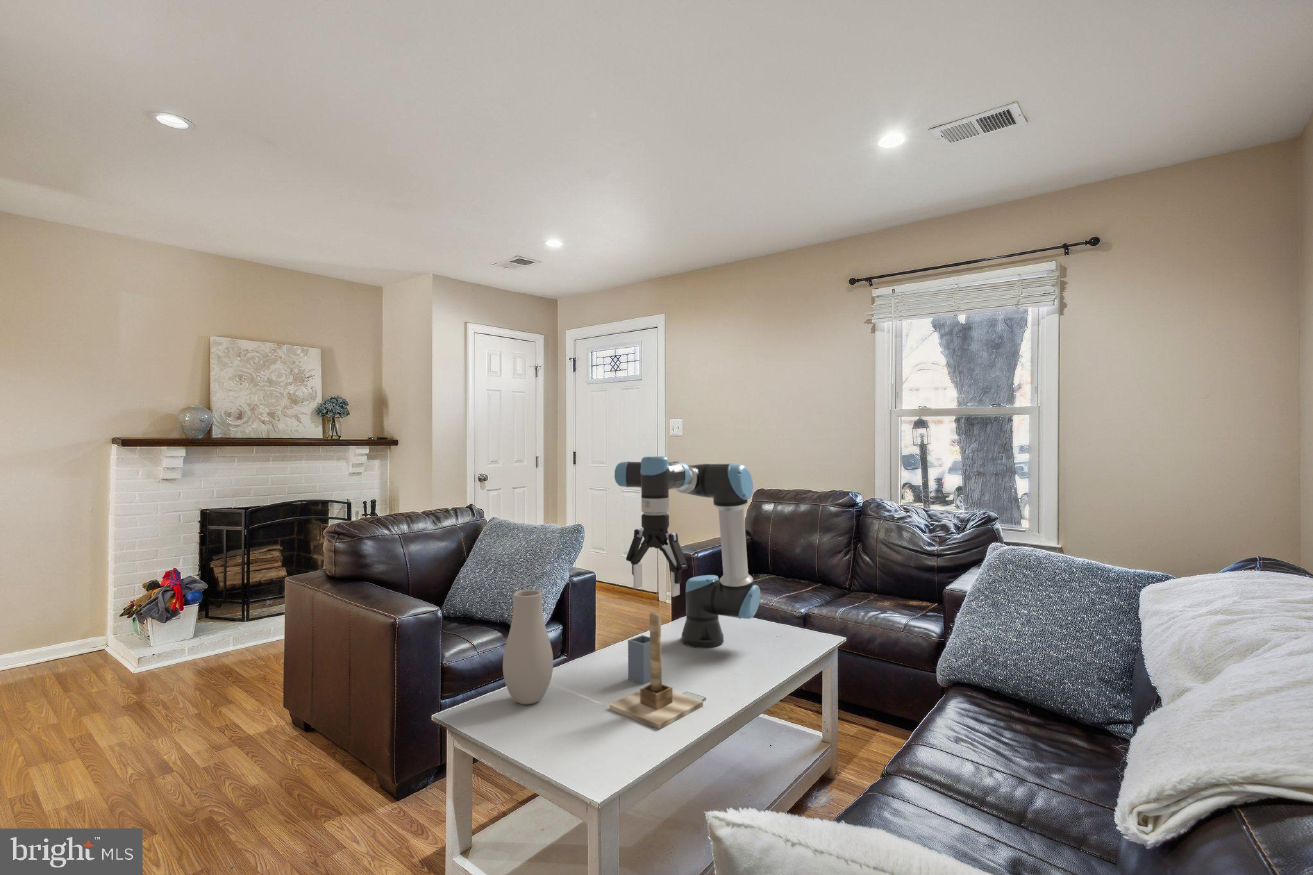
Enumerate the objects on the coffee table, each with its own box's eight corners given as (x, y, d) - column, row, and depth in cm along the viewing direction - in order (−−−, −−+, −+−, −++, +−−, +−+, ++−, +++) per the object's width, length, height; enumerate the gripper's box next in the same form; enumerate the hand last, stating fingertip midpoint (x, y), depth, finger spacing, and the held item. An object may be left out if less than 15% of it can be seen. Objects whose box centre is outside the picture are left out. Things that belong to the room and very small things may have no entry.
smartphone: (707, 697, 171) (677, 717, 158) (707, 700, 171) (677, 720, 158) (685, 690, 175) (654, 709, 163) (685, 693, 175) (654, 712, 163)
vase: (548, 711, 163) (548, 598, 164) (497, 711, 163) (496, 599, 164) (556, 690, 177) (556, 586, 177) (509, 690, 177) (508, 587, 177)
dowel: (656, 699, 167) (654, 611, 168) (664, 702, 165) (663, 613, 166) (648, 703, 165) (647, 614, 165) (656, 706, 163) (655, 616, 163)
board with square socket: (653, 688, 178) (653, 670, 178) (703, 705, 166) (702, 686, 166) (609, 708, 164) (609, 689, 165) (659, 729, 152) (659, 708, 153)
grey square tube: (642, 673, 189) (642, 635, 189) (658, 679, 185) (657, 639, 185) (628, 679, 185) (628, 640, 185) (643, 685, 180) (643, 644, 180)
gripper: (613, 511, 171) (614, 586, 171) (682, 518, 155) (683, 602, 155) (631, 508, 177) (632, 581, 177) (700, 515, 160) (701, 596, 160)
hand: (656, 591), depth 166 cm, fingers open, 13 cm apart
